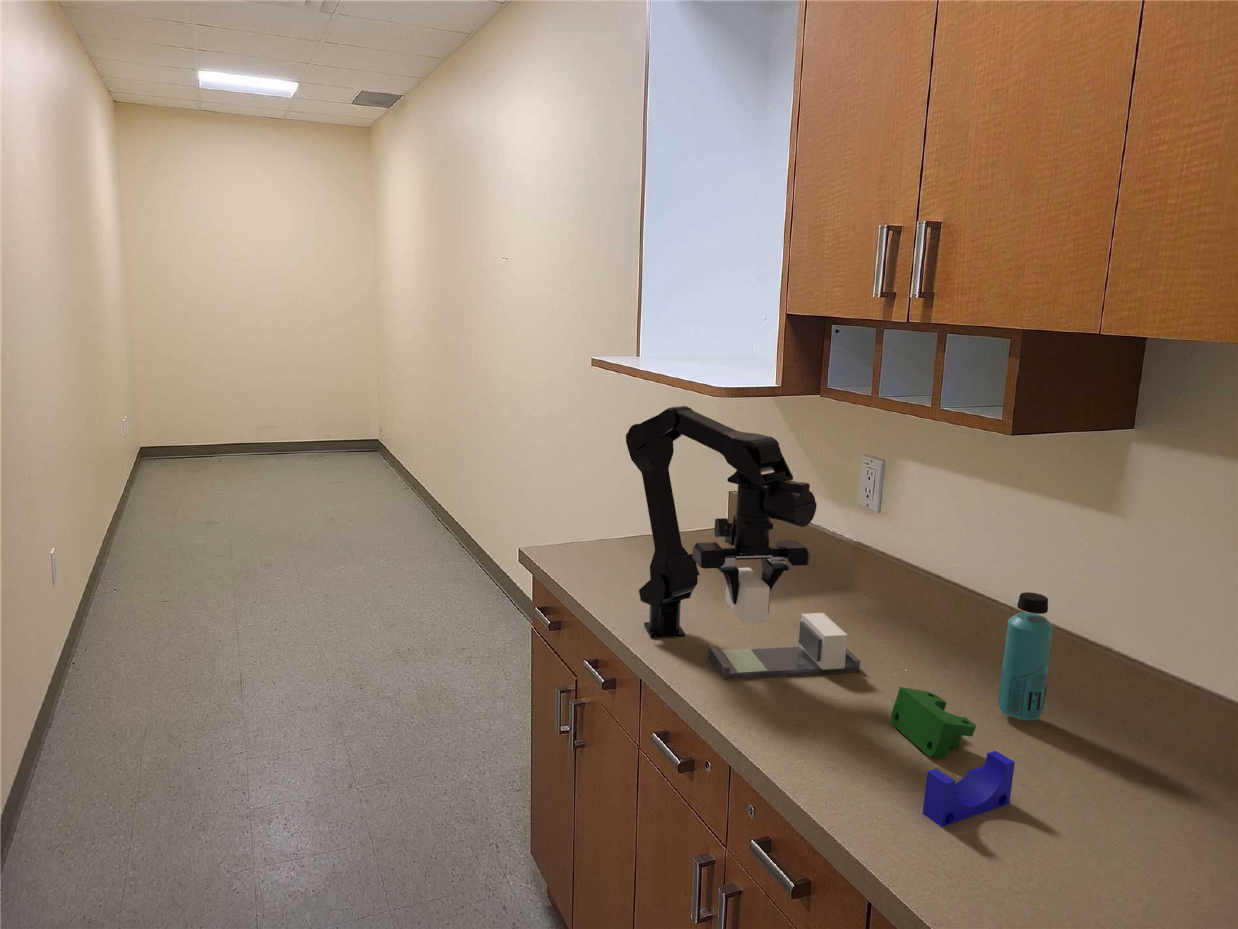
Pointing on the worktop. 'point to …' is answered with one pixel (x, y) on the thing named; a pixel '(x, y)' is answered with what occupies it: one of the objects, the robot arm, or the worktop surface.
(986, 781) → the blue bracket
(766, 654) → the rail
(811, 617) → the block
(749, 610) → the white rectangular prism
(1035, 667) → the beverage bottle
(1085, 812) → the worktop surface
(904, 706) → the clamp
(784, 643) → the worktop surface
